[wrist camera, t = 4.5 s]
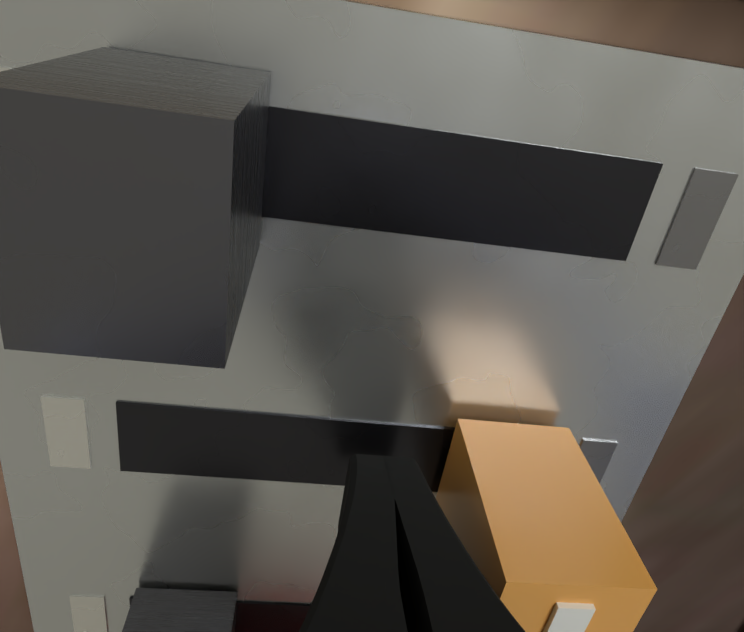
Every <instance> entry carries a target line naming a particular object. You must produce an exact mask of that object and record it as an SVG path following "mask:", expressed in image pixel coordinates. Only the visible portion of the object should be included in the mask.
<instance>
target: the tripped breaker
mask: <svg viewBox="0 0 744 632" xmlns="http://www.w3.org/2000/svg"><path fill="white" fill-rule="evenodd" d="M436 500H437V502H438V503H439V505H440V507H441V509H442V511H443V512H444V514H445V516H446V518H447V519H448V521H449V523H450V524H451V526H452V528H453V529H454V531H455V533H456V534H457V536H458V537H459V539H460V541H461V542H462V544H463V545H464V547H465V549H466V550H467V552H468V553H469V555H470V556H471V558H472V559H473V561H474V563H475V564H476V566H477V567H478V569H479V570H480V571H481V573H482V574H483V576H484V577H485V579H486V580H487V581H488V583H489V584H490V586H491V587H492V589H493V590H494V591H495V593H496V594H497V596H498V597H499V598H500V600H501V601H502V602H503V604H504V605H505V606H506V608H507V609H508V610H509V612H510V613H511V614H512V616H513V617H514V618H515V619H516V621H517V622H518V623H519V624H520V626H521V627H522V628H523V629H524V630H525V632H633V631H634V629H635V627H636V625H637V624H638V622H639V620H640V618H641V617H642V615H643V613H644V612H645V610H646V608H647V606H648V605H649V603H650V601H651V599H652V598H653V596H654V594H655V593H656V591H657V588H656V586H655V584H654V582H653V581H652V579H651V577H650V575H649V573H648V571H647V570H646V568H645V566H644V564H643V562H642V560H641V559H640V557H639V555H638V553H637V551H636V549H635V548H634V546H633V544H632V542H631V540H630V538H629V537H628V535H627V533H626V531H625V529H624V527H623V526H622V524H621V522H620V520H619V518H618V516H617V515H616V513H615V511H614V509H613V507H612V505H611V504H610V502H609V500H608V498H607V496H606V494H605V493H604V491H603V489H602V487H601V485H600V483H599V482H598V480H597V478H596V476H595V474H594V472H593V471H592V469H591V467H590V465H589V463H588V461H587V460H586V458H585V456H584V454H583V452H582V451H581V449H580V447H579V445H578V443H577V441H576V440H575V438H574V436H573V434H572V432H571V430H570V429H569V428H566V427H554V426H541V425H529V424H517V423H505V422H493V421H481V420H469V419H458V420H457V424H456V427H455V431H454V434H453V438H452V442H451V445H450V449H449V453H448V456H447V460H446V463H445V467H444V471H443V474H442V478H441V481H440V485H439V489H438V492H437V496H436Z"/></svg>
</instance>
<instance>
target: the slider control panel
mask: <svg viewBox="0 0 744 632" xmlns="http://www.w3.org/2000/svg"><path fill="white" fill-rule="evenodd" d="M743 274H744V68H741V67H735V66H729V65H724V64H718V63H712V62H706V61H700V60H694V59H688V58H683V57H677V56H671V55H665V54H659V53H653V52H647V51H641V50H636V49H630V48H624V47H618V46H612V45H606V44H600V43H595V42H589V41H583V40H577V39H571V38H565V37H559V36H553V35H548V34H542V33H536V32H530V31H524V30H518V29H512V28H506V27H501V26H495V25H489V24H483V23H477V22H471V21H465V20H460V19H454V18H448V17H442V16H436V15H430V14H424V13H418V12H413V11H407V10H401V9H395V8H389V7H383V6H377V5H372V4H366V3H360V2H354V1H348V0H0V460H1V465H2V471H3V476H4V481H5V486H6V491H7V496H8V501H9V506H10V511H11V517H12V522H13V527H14V532H15V537H16V542H17V547H18V552H19V557H20V562H21V568H22V573H23V578H24V583H25V588H26V593H27V598H28V603H29V608H30V614H31V619H32V624H33V629H34V632H299V630H300V628H301V626H302V624H303V621H304V619H305V617H306V615H307V613H308V610H309V608H310V606H311V603H312V601H313V599H314V596H315V594H316V592H317V589H318V587H319V584H320V582H321V579H322V577H323V574H324V571H325V568H326V566H327V563H328V560H329V557H330V555H331V552H332V549H333V546H334V543H335V540H336V537H337V534H338V522H339V516H340V510H341V504H342V499H343V493H344V487H345V481H346V476H347V470H348V464H349V458H350V457H352V456H353V455H355V454H365V455H379V456H393V457H406V458H414V460H415V461H416V462H417V463H418V465H419V467H420V469H421V471H422V473H423V475H424V477H425V479H426V481H427V483H428V485H429V487H430V489H431V491H432V493H433V494H434V496H435V498H436V496H437V492H438V489H439V485H440V481H441V478H442V474H443V471H444V467H445V463H446V460H447V456H448V453H449V449H450V445H451V442H452V438H453V434H454V431H455V427H456V424H457V420H458V419H469V420H481V421H493V422H505V423H517V424H529V425H541V426H554V427H566V428H569V429H570V430H571V432H572V434H573V436H574V438H575V440H576V441H577V443H578V445H579V447H580V449H581V451H582V452H583V454H584V456H585V458H586V460H587V461H588V463H589V465H590V467H591V469H592V471H593V472H594V474H595V476H596V478H597V480H598V482H599V483H600V485H601V487H602V489H603V491H604V493H605V494H606V496H607V498H608V500H609V502H610V504H611V505H612V507H613V509H614V511H615V513H616V515H617V516H618V518H619V520H620V522H621V521H622V519H623V517H624V515H625V513H626V511H627V509H628V507H629V505H630V503H631V501H632V499H633V497H634V495H635V493H636V491H637V489H638V487H639V485H640V482H641V480H642V478H643V476H644V474H645V472H646V470H647V468H648V466H649V464H650V462H651V460H652V458H653V456H654V454H655V452H656V450H657V448H658V446H659V444H660V442H661V440H662V438H663V436H664V434H665V432H666V430H667V428H668V426H669V424H670V422H671V420H672V418H673V416H674V414H675V412H676V410H677V408H678V406H679V404H680V401H681V399H682V397H683V395H684V393H685V391H686V389H687V387H688V385H689V383H690V381H691V379H692V377H693V375H694V373H695V371H696V369H697V367H698V365H699V363H700V361H701V359H702V357H703V355H704V353H705V351H706V349H707V347H708V345H709V343H710V341H711V339H712V337H713V335H714V333H715V331H716V329H717V327H718V325H719V322H720V320H721V318H722V316H723V314H724V312H725V310H726V308H727V306H728V304H729V302H730V300H731V298H732V296H733V294H734V292H735V290H736V288H737V286H738V284H739V282H740V280H741V278H742V276H743Z"/></svg>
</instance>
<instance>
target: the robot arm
mask: <svg viewBox="0 0 744 632" xmlns="http://www.w3.org/2000/svg"><path fill="white" fill-rule="evenodd" d="M299 632H525V630H524V629H523V628H522V627H521V626H520V624H519V623H518V622H517V621H516V619H515V618H514V617H513V616H512V614H511V613H510V612H509V610H508V609H507V608H506V606H505V605H504V604H503V602H502V601H501V600H500V598H499V597H498V596H497V594H496V593H495V591H494V590H493V589H492V587H491V586H490V584H489V583H488V581H487V580H486V579H485V577H484V576H483V574H482V573H481V571H480V570H479V569H478V567H477V566H476V564H475V563H474V561H473V559H472V558H471V556H470V555H469V553H468V552H467V550H466V549H465V547H464V545H463V544H462V542H461V541H460V539H459V537H458V536H457V534H456V533H455V531H454V529H453V528H452V526H451V524H450V523H449V521H448V519H447V518H446V516H445V514H444V512H443V511H442V509H441V507H440V505H439V503H438V502H437V500H436V498H435V496H434V494H433V493H432V491H431V489H430V487H429V485H428V483H427V481H426V479H425V477H424V475H423V473H422V471H421V469H420V467H419V465H418V463H417V462H416V461H415V460H414V458H406V457H393V456H379V455H365V454H355V455H353V456H352V457H350V458H349V464H348V470H347V476H346V481H345V487H344V493H343V499H342V504H341V510H340V516H339V522H338V534H337V537H336V540H335V543H334V546H333V549H332V552H331V555H330V557H329V560H328V563H327V566H326V568H325V571H324V574H323V577H322V579H321V582H320V584H319V587H318V589H317V592H316V594H315V596H314V599H313V601H312V603H311V606H310V608H309V610H308V613H307V615H306V617H305V619H304V621H303V624H302V626H301V628H300V630H299Z"/></svg>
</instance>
